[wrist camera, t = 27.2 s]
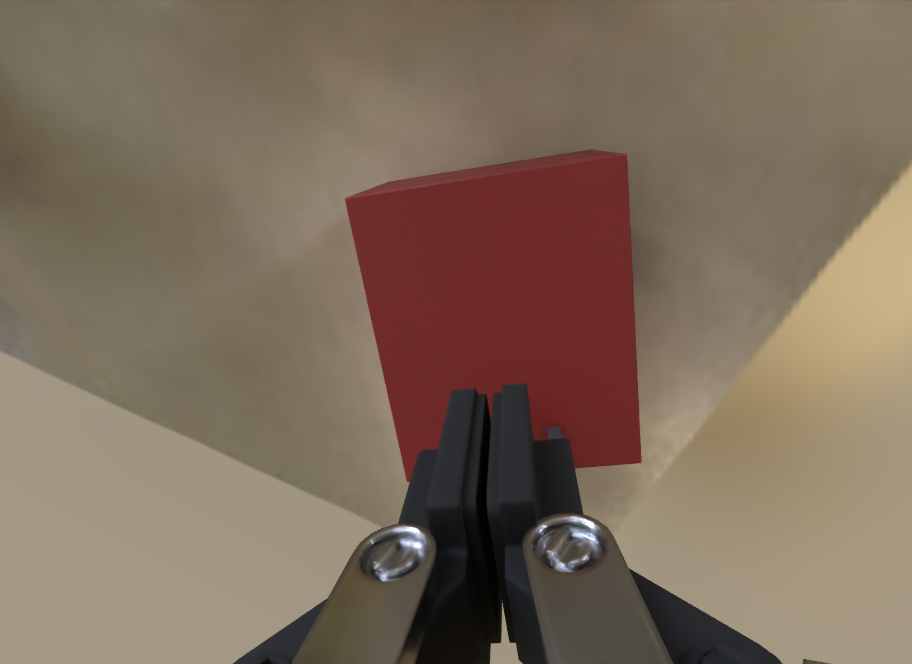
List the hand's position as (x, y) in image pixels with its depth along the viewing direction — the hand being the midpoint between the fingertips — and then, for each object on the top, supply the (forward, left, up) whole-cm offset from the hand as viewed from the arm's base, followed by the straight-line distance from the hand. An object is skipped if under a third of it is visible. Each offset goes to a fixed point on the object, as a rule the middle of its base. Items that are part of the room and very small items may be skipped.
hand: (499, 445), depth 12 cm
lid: (0, +3, -15) cm, 15 cm away
